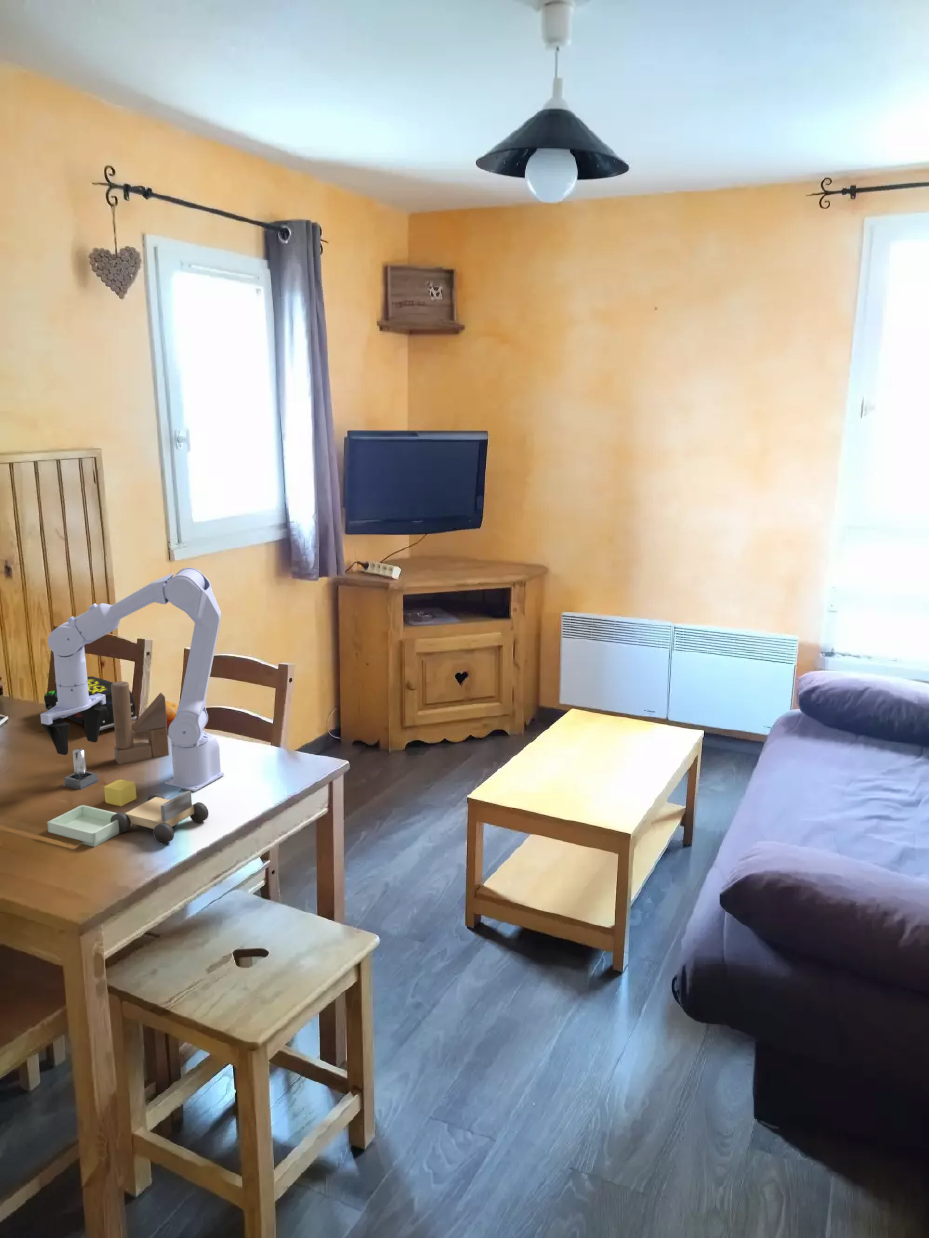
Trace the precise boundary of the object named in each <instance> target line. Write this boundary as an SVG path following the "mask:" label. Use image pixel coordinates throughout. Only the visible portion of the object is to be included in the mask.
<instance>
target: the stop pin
mask: <svg viewBox="0 0 929 1238" xmlns="http://www.w3.org/2000/svg"><path fill="white" fill-rule="evenodd" d="M85 754H86V753H85V749H84V748H76V749H73V750H72V759H73V760H72V761H73V762H72V763H73V771H74V772H73V773H75V779H79V780H81V779H83V778H85V777H87V773H86V771H87V763H86V755H85Z"/></svg>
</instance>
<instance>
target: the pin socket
mask: <svg viewBox="0 0 929 1238" xmlns="http://www.w3.org/2000/svg"><path fill="white" fill-rule="evenodd" d="M86 773H87V777H85V778H83V779H81V780H79V779H75V772H73V773H72V774H69V775H67V776H65V777H63V780H64V784H62V787H67V788H72V789H74V790H75V789H76V790H80V791H81V790H84V789H86V788H88V787H90V786H92V785H94V784H96V783H98V782H101V780H99V779H98V773H96V772H91V771H87V770H86Z"/></svg>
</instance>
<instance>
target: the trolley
mask: <svg viewBox="0 0 929 1238" xmlns="http://www.w3.org/2000/svg"><path fill="white" fill-rule="evenodd" d="M192 802H193V801H192V791H190V790H186V791H184V792H182V793H181V794H179V795H177V796H175V797H174V798H172V799H168V798H165V796H164V795H163V794H162V793H159V792H154V793H153V794H151V795H149V796H148V797H147V800H146V801H145V802H144V803H142V804H139V805H138V806H136V807H134V808H132V809H131V810H129V811H127V812H123V811H118V812H116V813H117V814H115V815H113V816H112V817H111V822H113V821H115V820H118V824H119V834H123V833H125V832H126V831H128V830H129V829H130V828H131V825H132V824H133V825H136V826H141V827H144V828H149V829H153V831H152V832H153V837H154V840H156V841H157V842H158V844H160V845H167V844H168V843H170V842H171V841H173V839H174V837H175V831H174V828H173V827H174V826H176V825H178V824H179V823H180V822H182V821H183V820H186V819H188V818H190V819H191V820H192V821H193V822H194V823H196V824H201V823H203V822H204V821H206V820H207V819H208V818H209V809H208V808H207V805H205V804H204V803H203V802H196V803H193V804H192Z"/></svg>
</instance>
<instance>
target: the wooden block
mask: <svg viewBox="0 0 929 1238" xmlns="http://www.w3.org/2000/svg"><path fill="white" fill-rule="evenodd" d="M129 690H130V684H129V682H128V681H125V680H123V681H116V682H113V683H112V684H111V692H112V704H113V716H114V727H113V728H114V736H115V737H114V739H115V746H113V750H114V751H113V752H114V760H115V762H116V763H117V765H124V764H129V763H135V762H139V761H146V760H150V759H156V758H162V757H167V756H169V755H170V750H169V747H170V746H169V734H168V732H167V718H166V704H165V702H166V696H165V695H164V694H163V692H160V693H159V694H158V695H157V696H156V697H155V698H154V699H153V701H152V702H151V703H150V704H149V705H148V707H147V708H146V709H145V710H144V711H143V712H142V714H141V715H140V716H139V717H138V718H136V720H134V721H135V722H134V723H133V721H132V719H131V706H130V694H129ZM145 731H147V740H148V742H146V741H145V742H143V741H137V742H136V741H135V742H134V734H133V733H138V732H145Z"/></svg>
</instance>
